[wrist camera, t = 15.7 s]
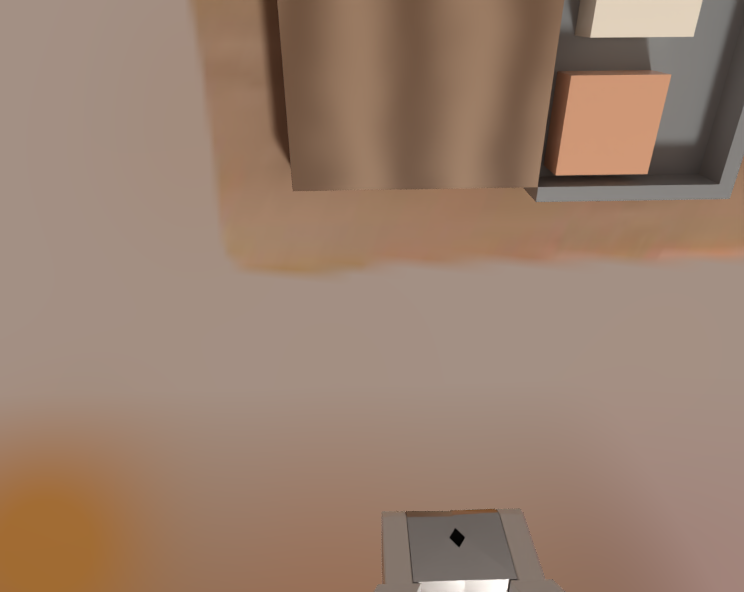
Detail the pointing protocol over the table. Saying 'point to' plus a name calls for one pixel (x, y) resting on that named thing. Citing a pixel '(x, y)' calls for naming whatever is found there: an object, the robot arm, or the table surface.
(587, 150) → the terracotta tile
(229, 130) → the table surface
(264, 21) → the table surface
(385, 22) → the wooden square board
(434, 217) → the table surface
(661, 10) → the cream tile
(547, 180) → the box
